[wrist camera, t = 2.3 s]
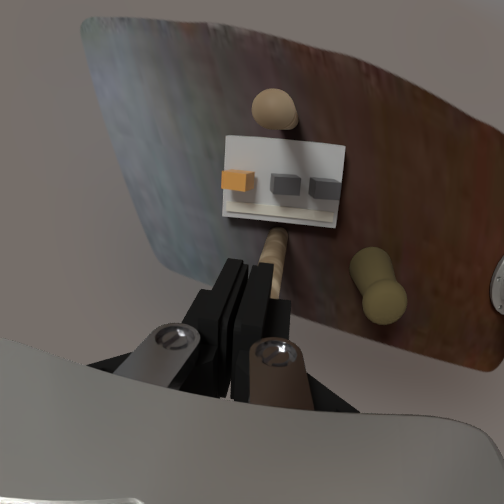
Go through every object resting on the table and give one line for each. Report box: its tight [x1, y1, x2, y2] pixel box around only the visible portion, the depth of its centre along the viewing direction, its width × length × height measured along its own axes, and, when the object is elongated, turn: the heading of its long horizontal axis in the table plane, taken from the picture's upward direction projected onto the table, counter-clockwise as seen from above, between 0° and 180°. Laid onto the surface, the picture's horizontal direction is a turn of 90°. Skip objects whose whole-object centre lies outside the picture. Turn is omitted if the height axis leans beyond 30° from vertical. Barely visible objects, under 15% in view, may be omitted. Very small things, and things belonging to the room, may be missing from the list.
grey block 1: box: [270, 173, 301, 196], centre depth 36 cm, size 3×2×2 cm, turn 87°
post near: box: [252, 89, 298, 130], centre depth 27 cm, size 3×3×20 cm
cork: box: [349, 247, 407, 325], centre depth 37 cm, size 6×6×11 cm
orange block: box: [221, 169, 255, 192], centre depth 37 cm, size 3×2×2 cm, turn 85°
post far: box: [258, 226, 288, 299], centre depth 33 cm, size 3×3×20 cm
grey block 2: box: [308, 177, 342, 200], centre depth 36 cm, size 3×2×2 cm, turn 87°
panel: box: [222, 135, 345, 228], centre depth 38 cm, size 14×10×2 cm
